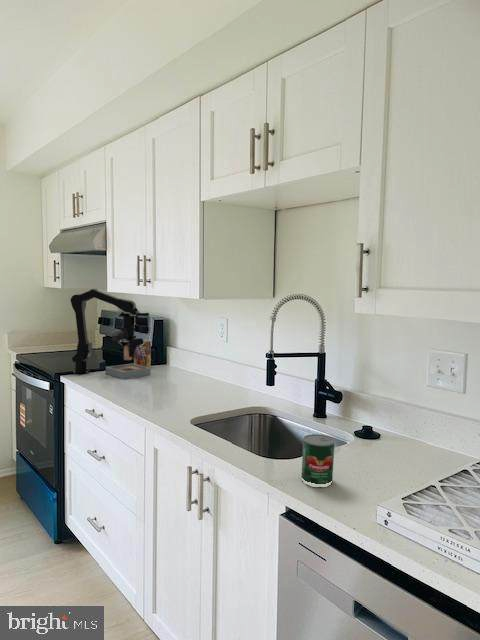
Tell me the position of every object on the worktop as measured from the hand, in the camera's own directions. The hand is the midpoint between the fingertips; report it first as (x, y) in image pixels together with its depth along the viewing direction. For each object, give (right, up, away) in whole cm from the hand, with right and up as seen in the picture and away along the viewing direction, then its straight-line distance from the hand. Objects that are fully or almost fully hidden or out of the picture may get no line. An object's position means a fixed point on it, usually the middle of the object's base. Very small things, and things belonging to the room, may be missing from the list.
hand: (128, 356), depth 238 cm
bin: (0, -9, +1) cm, 9 cm away
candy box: (+3, -8, +19) cm, 20 cm away
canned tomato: (+76, -23, -118) cm, 142 cm away
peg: (0, -2, 0) cm, 2 cm away
